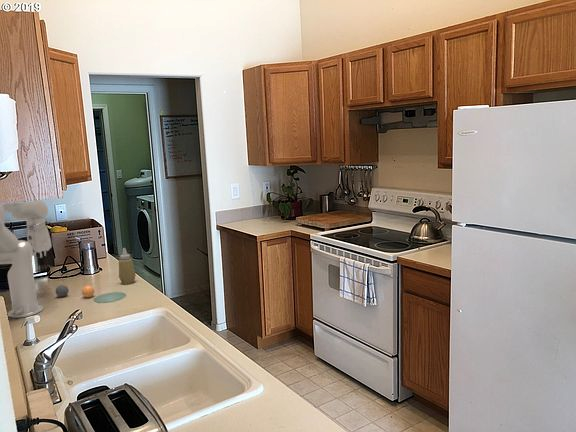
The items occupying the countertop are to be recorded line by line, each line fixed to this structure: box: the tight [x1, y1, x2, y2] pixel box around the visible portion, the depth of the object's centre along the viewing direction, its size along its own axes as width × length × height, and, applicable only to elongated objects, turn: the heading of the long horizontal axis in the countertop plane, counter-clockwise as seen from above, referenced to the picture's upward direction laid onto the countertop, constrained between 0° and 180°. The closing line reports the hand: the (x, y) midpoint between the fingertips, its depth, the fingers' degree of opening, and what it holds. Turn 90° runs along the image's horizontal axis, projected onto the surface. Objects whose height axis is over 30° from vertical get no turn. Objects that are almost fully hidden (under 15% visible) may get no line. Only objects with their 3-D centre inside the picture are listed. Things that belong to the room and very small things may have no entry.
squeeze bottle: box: [118, 247, 136, 285], centre depth 237 cm, size 8×8×18 cm
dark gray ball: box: [55, 284, 69, 298], centre depth 221 cm, size 6×6×6 cm
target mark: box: [93, 291, 127, 304], centre depth 216 cm, size 14×14×1 cm
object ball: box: [81, 284, 95, 298], centre depth 218 cm, size 6×6×6 cm
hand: (42, 265), depth 222 cm, fingers closed
